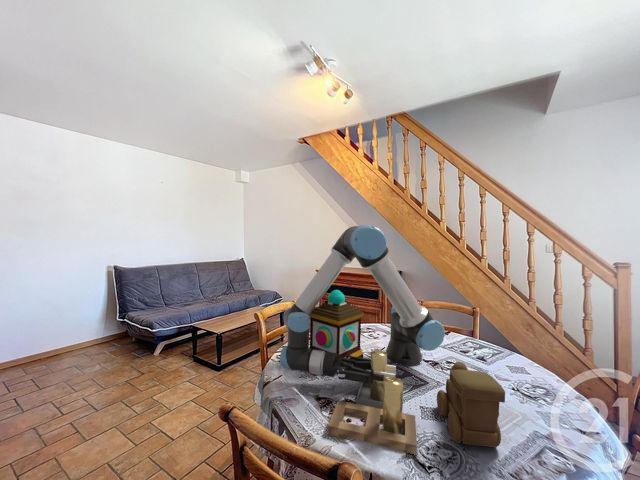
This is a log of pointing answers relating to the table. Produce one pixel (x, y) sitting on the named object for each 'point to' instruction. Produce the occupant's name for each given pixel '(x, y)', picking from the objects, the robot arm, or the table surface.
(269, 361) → the table surface
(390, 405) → the cylinder
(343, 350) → the decorative lantern
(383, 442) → the wooden holder frame
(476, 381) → the wooden toy train
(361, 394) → the grey square tray
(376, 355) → the cylinder
